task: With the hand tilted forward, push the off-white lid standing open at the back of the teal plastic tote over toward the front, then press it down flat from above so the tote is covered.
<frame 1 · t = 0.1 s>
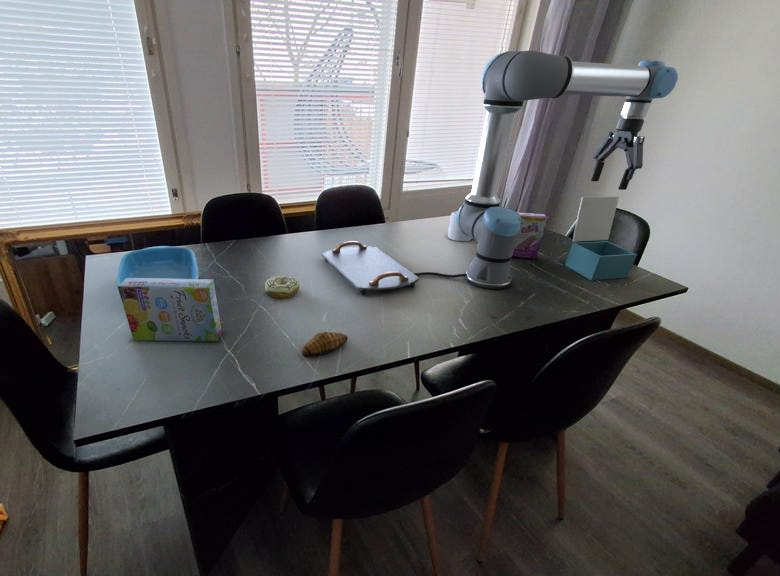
hand: (607, 185, 151), 28 cm above the table, tool pointing down, fingers open, 13 cm apart
snack box: (178, 337, 107), on the table
toilet tissue: (460, 238, 184), on the table
serving tray: (367, 273, 147), on the table
tote: (594, 271, 157), on the table
candy bar box: (520, 256, 167), on the table
croissant: (325, 350, 105), on the table
casserole dish: (163, 287, 131), on the table
decorated donut: (282, 292, 131), on the table
lid: (595, 219, 154), point 17 cm above the table, hinge at 100.0°
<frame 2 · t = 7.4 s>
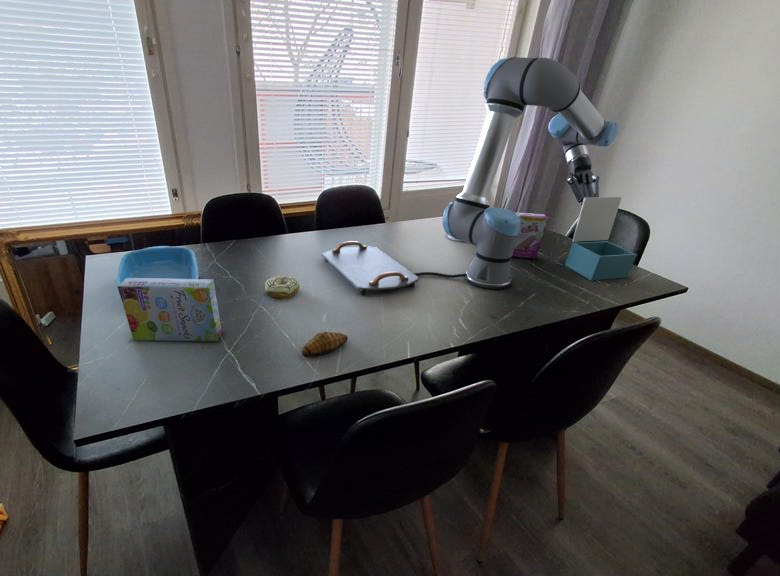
hand: (593, 218, 155), 17 cm above the table, tool tilted 45°, fingers closed
lid: (596, 219, 153), point 17 cm above the table, hinge at 95.1°, touching gripper
everything else where it was.
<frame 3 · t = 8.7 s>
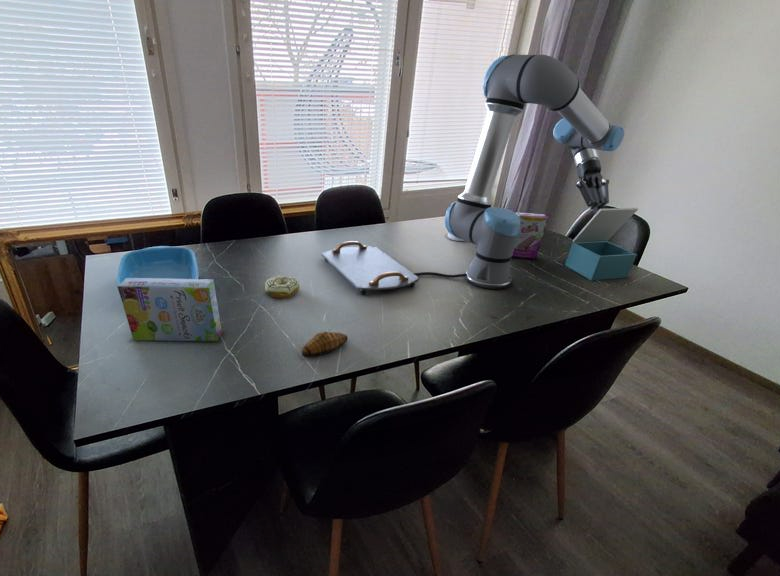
hand: (603, 223, 151), 17 cm above the table, tool tilted 45°, fingers closed
lid: (604, 225, 150), point 16 cm above the table, hinge at 61.5°
everything else where it was.
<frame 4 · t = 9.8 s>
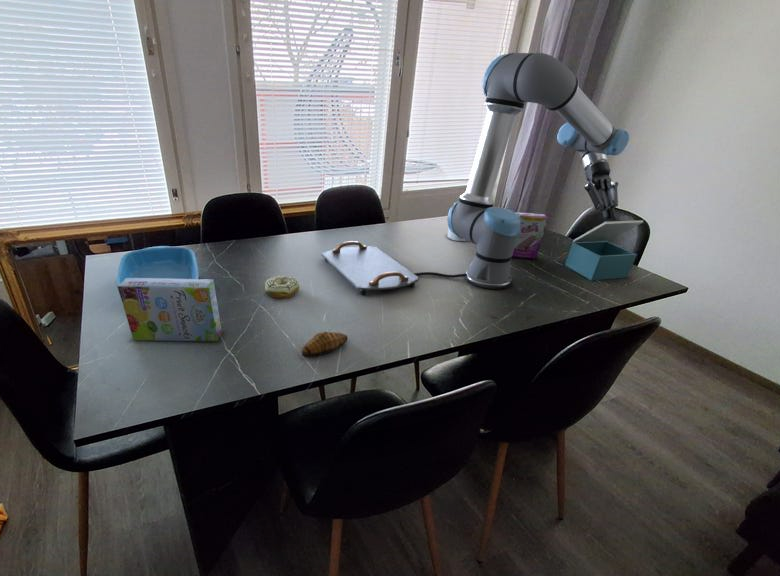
hand: (612, 226, 147), 17 cm above the table, tool tilted 45°, fingers closed
lid: (606, 231, 150), point 14 cm above the table, hinge at 41.8°
everything else where it was.
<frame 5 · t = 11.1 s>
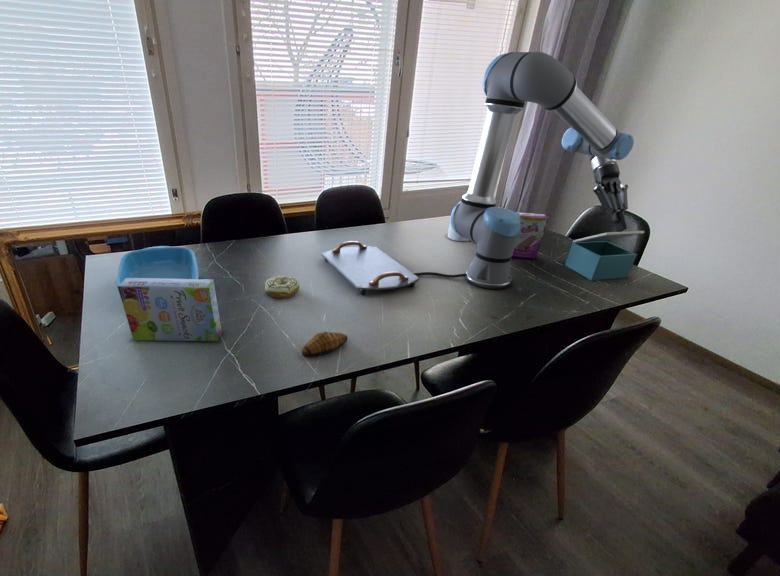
hand: (621, 230, 144), 17 cm above the table, tool tilted 45°, fingers closed
lid: (607, 236, 150), point 13 cm above the table, hinge at 28.1°, touching gripper
everything else where it was.
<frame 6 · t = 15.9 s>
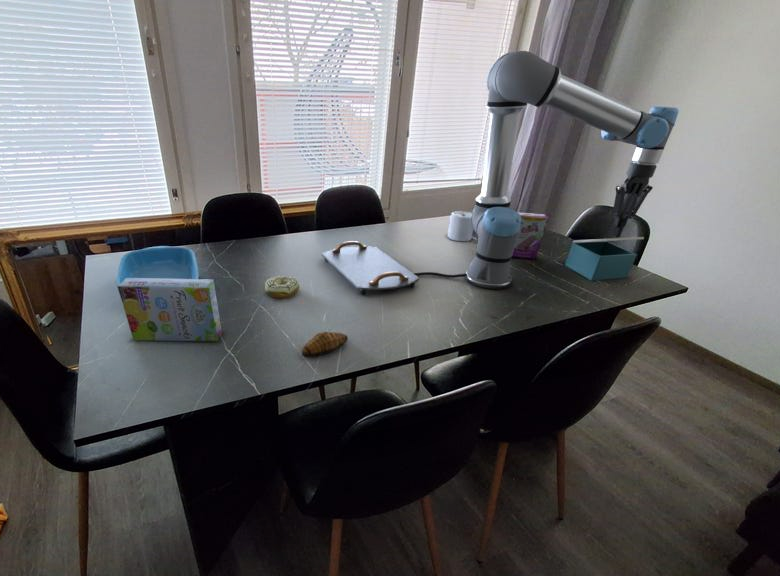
hand: (615, 236, 147), 14 cm above the table, tool pointing down, fingers closed
lid: (607, 239, 150), point 12 cm above the table, hinge at 20.4°, touching gripper
everything else where it was.
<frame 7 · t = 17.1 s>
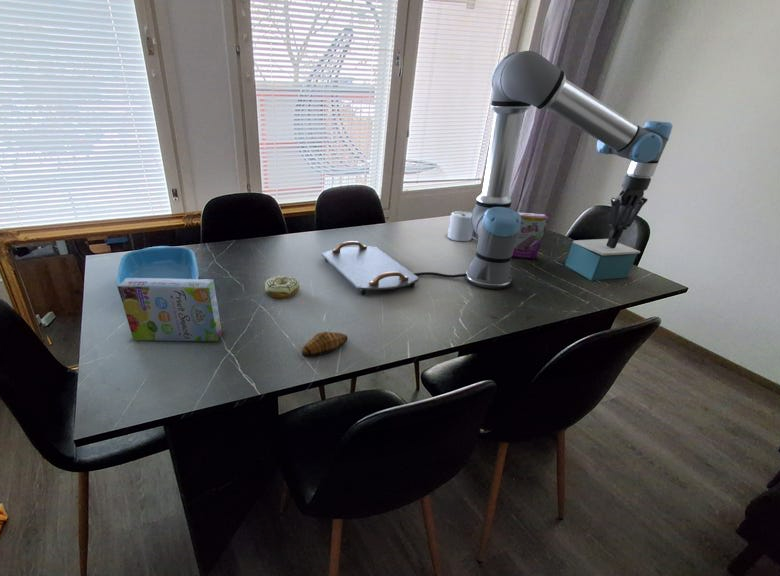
hand: (610, 246, 149), 10 cm above the table, tool pointing down, fingers closed
lid: (605, 246, 151), point 10 cm above the table, hinge at 2.2°, touching gripper
everything else where it was.
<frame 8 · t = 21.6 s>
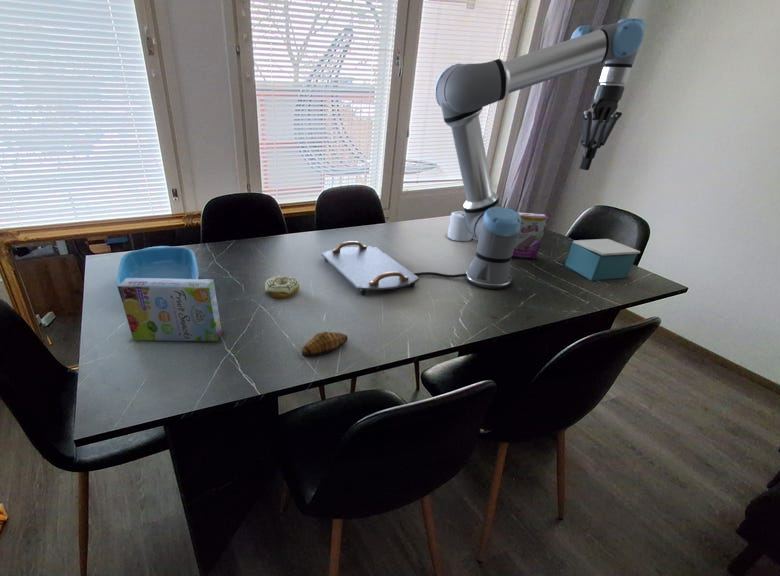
hand: (584, 169, 139), 34 cm above the table, tool pointing down, fingers closed
lid: (605, 246, 151), point 10 cm above the table, hinge at 2.1°
everything else where it was.
at the end: lid at +2° (first picture: +100°); candy bar box moved 0.2 cm from its start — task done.
